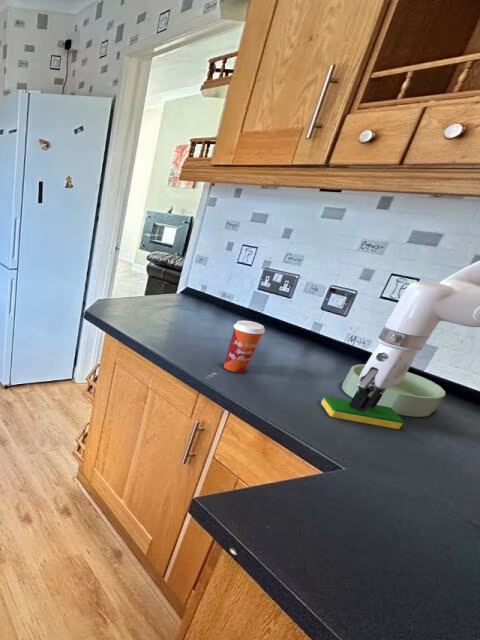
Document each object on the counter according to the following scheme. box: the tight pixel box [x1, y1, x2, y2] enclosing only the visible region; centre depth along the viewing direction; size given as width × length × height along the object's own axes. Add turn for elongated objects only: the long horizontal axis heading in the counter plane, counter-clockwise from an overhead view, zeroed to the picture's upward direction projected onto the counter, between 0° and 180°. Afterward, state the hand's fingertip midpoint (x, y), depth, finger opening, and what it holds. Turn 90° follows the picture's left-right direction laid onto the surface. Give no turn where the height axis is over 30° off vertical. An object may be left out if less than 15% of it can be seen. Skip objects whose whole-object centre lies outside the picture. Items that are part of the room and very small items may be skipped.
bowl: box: [341, 363, 446, 418], centre depth 109 cm, size 18×18×6 cm
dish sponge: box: [320, 395, 405, 430], centre depth 102 cm, size 7×14×2 cm, turn 69°
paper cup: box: [223, 320, 266, 373], centre depth 121 cm, size 8×8×14 cm
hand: (361, 406), depth 102 cm, fingers open, 3 cm apart
